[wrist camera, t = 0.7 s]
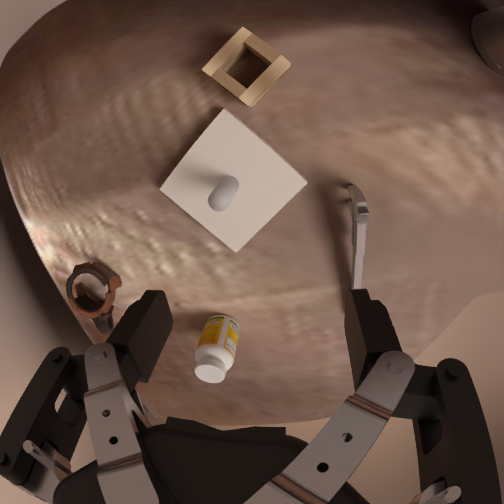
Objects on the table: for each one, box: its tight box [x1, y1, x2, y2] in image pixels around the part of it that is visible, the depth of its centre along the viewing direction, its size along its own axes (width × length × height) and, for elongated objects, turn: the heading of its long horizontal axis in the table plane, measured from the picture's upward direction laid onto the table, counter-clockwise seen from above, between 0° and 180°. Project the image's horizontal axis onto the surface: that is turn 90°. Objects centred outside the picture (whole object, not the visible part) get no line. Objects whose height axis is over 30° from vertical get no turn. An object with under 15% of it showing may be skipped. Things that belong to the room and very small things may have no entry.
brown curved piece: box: [66, 262, 122, 334], centre depth 40 cm, size 12×10×8 cm
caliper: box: [347, 185, 369, 289], centre depth 33 cm, size 20×1×6 cm, turn 10°
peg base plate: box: [159, 109, 308, 253], centre depth 29 cm, size 12×12×8 cm
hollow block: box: [202, 27, 291, 107], centre depth 24 cm, size 6×6×4 cm
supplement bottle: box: [195, 315, 240, 383], centre depth 39 cm, size 5×5×10 cm
